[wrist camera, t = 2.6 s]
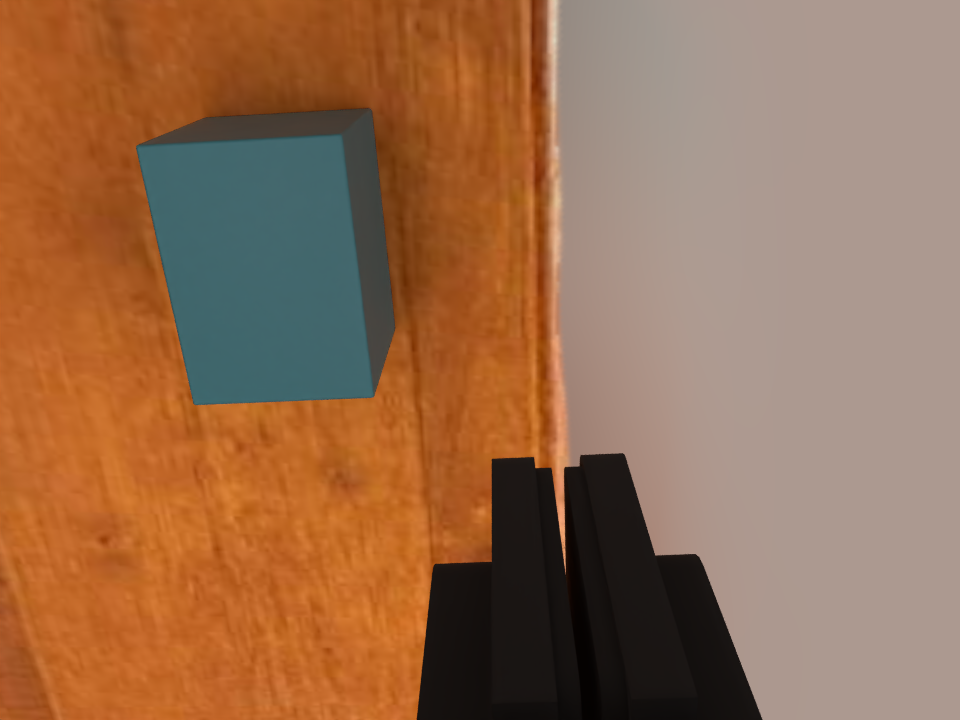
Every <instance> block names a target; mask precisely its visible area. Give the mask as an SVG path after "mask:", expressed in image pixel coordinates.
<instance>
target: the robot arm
mask: <svg viewBox="0 0 960 720" xmlns="http://www.w3.org/2000/svg"><path fill="white" fill-rule="evenodd" d="M564 495H565V551H566V574H565V566H564V559H563V551H562V544H561V536H560V529H559V521H558V513H557V506H556V498H555V491H554V483H553V476H552V469H551V468H535V462H534V457H525V458H502V459H492V562H474V563H448V564H435V565H434V567H433V573H432V581H431V590H430V600H429V609H428V619H427V628H426V638H425V647H424V656H423V666H422V675H421V685H420V694H419V704H418V713H417V720H762V717H761V715H760V712H759V709H758V707H757V704H756V702H755V699H754V696H753V694H752V691H751V689H750V686H749V683H748V681H747V678H746V676H745V673H744V671H743V668H742V665H741V662H740V660H739V657H738V655H737V652H736V649H735V647H734V644H733V642H732V639H731V636H730V634H729V631H728V629H727V626H726V623H725V621H724V618H723V616H722V613H721V611H720V608H719V605H718V603H717V600H716V597H715V595H714V592H713V590H712V587H711V585H710V582H709V579H708V576H707V574H706V571H705V569H704V566H703V564H702V562H701V560H700V558H699V557H698V556H697V555H696V554H684V555H658V556H655V553H654V550H653V547H652V543H651V540H650V537H649V533H648V530H647V527H646V523H645V520H644V517H643V514H642V510H641V507H640V504H639V500H638V497H637V493H636V490H635V487H634V484H633V480H632V477H631V474H630V470H629V467H628V464H627V460H626V457H625V455H624V454H623V453H619V454H596V455H581V456H580V466H579V467H565V468H564Z"/></svg>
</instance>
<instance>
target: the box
mask: <svg viewBox="0 0 960 720" xmlns="http://www.w3.org/2000/svg"><path fill="white" fill-rule="evenodd" d="M136 149H137V154H138V158H139V163H140V167H141V172H142V176H143V180H144V185H145V189H146V194H147V198H148V203H149V207H150V212H151V216H152V221H153V225H154V229H155V234H156V238H157V243H158V247H159V252H160V256H161V261H162V265H163V270H164V274H165V278H166V283H167V287H168V292H169V296H170V301H171V305H172V310H173V314H174V318H175V323H176V327H177V332H178V336H179V341H180V345H181V350H182V354H183V359H184V363H185V367H186V372H187V376H188V381H189V385H190V390H191V394H192V399H193V403H194V405H208V404H232V403H256V402H280V401H304V400H328V399H352V398H372V397H374V395H375V392H376V389H377V385H378V382H379V379H380V376H381V372H382V369H383V366H384V363H385V360H386V356H387V353H388V350H389V347H390V344H391V340H392V337H393V334H394V331H395V322H394V312H393V303H392V294H391V284H390V275H389V266H388V256H387V247H386V237H385V228H384V219H383V209H382V200H381V191H380V181H379V172H378V162H377V153H376V144H375V134H374V125H373V116H372V110H371V109H370V108H365V109H347V110H330V111H312V112H294V113H277V114H259V115H242V116H224V117H206V118H203V119H201V120H198V121H196V122H193V123H191V124H188V125H186V126H183V127H181V128H179V129H176V130H174V131H171V132H169V133H166V134H164V135H161V136H159V137H156V138H154V139H151V140H149V141H147V142H144V143H142V144H139V145H137V146H136Z"/></svg>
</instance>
